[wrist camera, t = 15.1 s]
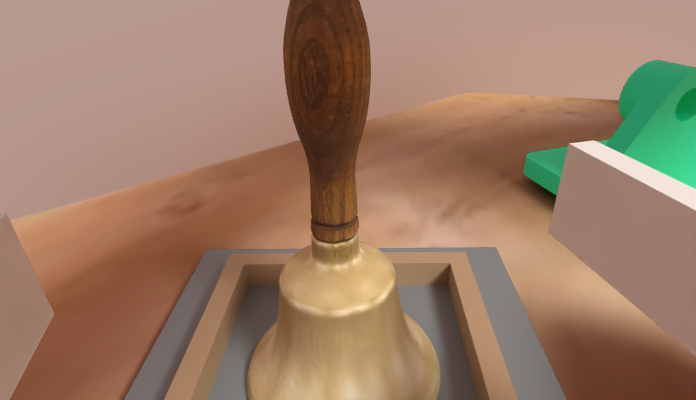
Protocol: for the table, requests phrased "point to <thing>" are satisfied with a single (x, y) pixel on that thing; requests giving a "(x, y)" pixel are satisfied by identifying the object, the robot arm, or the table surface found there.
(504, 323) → the bell board
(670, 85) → the camera mount
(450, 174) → the table surface
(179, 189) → the table surface
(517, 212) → the table surface
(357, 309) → the hand bell
